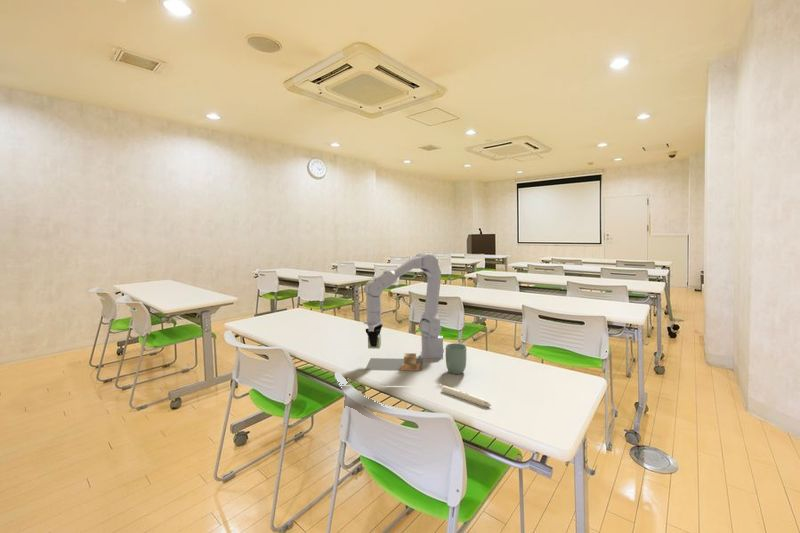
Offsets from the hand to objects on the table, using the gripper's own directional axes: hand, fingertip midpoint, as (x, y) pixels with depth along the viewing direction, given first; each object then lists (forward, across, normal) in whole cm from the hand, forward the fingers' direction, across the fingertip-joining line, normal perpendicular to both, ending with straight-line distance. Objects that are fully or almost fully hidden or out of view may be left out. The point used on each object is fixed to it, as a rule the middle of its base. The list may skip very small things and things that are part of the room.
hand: (374, 344), depth 144 cm
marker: (+9, +28, +34) cm, 45 cm away
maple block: (+8, +2, +14) cm, 17 cm away
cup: (+9, +6, +32) cm, 34 cm away
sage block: (+1, 0, 0) cm, 1 cm away
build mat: (+9, 0, +8) cm, 12 cm away
